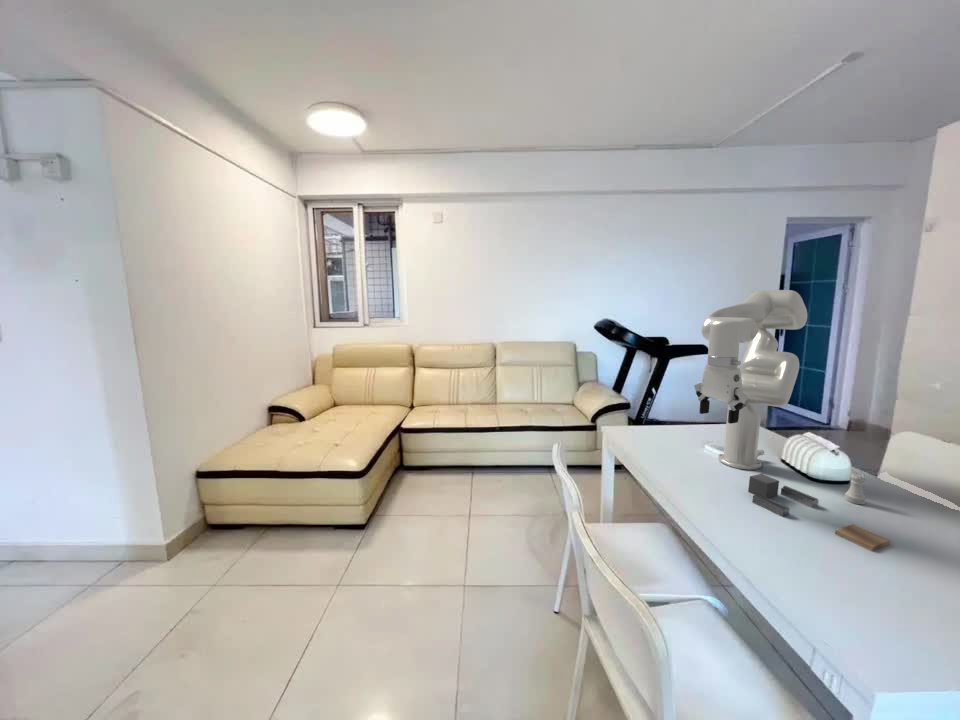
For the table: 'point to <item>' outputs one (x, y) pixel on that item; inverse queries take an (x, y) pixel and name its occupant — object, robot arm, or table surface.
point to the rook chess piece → (856, 489)
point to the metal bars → (781, 508)
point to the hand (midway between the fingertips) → (717, 417)
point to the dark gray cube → (763, 486)
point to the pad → (862, 537)
